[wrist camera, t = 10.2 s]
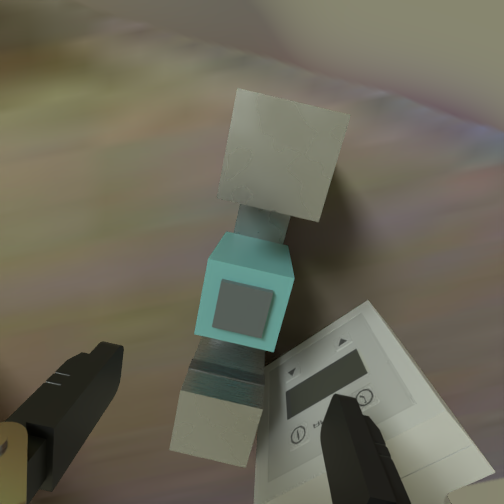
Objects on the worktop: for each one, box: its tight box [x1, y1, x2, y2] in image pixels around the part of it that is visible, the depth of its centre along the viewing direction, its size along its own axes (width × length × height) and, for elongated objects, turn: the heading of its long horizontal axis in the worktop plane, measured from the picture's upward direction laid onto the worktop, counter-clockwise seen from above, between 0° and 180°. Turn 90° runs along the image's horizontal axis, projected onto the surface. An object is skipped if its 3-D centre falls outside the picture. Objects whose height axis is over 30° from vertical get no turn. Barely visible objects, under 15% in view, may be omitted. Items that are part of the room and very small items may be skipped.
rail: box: [169, 88, 350, 468], centre depth 21 cm, size 5×22×10 cm, turn 167°
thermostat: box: [254, 300, 495, 504], centre depth 21 cm, size 12×14×15 cm
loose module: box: [194, 232, 295, 352], centre depth 20 cm, size 5×5×7 cm
